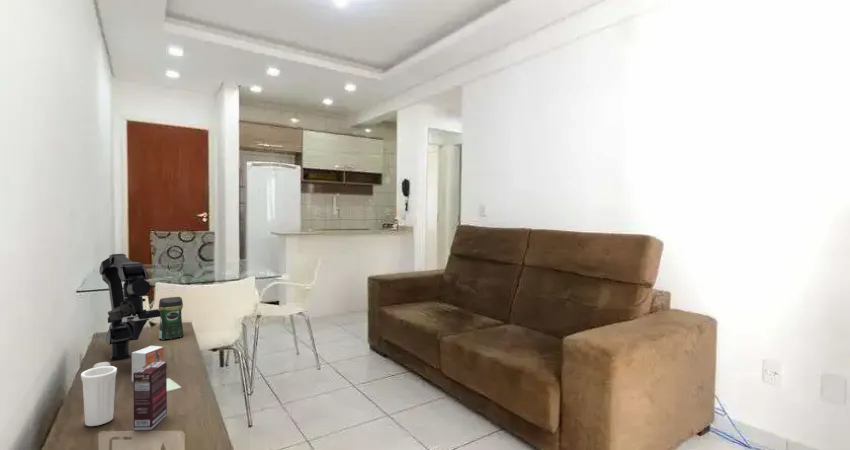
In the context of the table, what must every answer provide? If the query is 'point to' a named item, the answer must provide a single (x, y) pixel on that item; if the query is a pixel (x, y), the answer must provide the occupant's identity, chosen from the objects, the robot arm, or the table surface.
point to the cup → (98, 394)
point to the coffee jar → (170, 318)
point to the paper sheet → (172, 385)
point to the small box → (146, 357)
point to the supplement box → (150, 395)
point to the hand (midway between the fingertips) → (135, 339)
